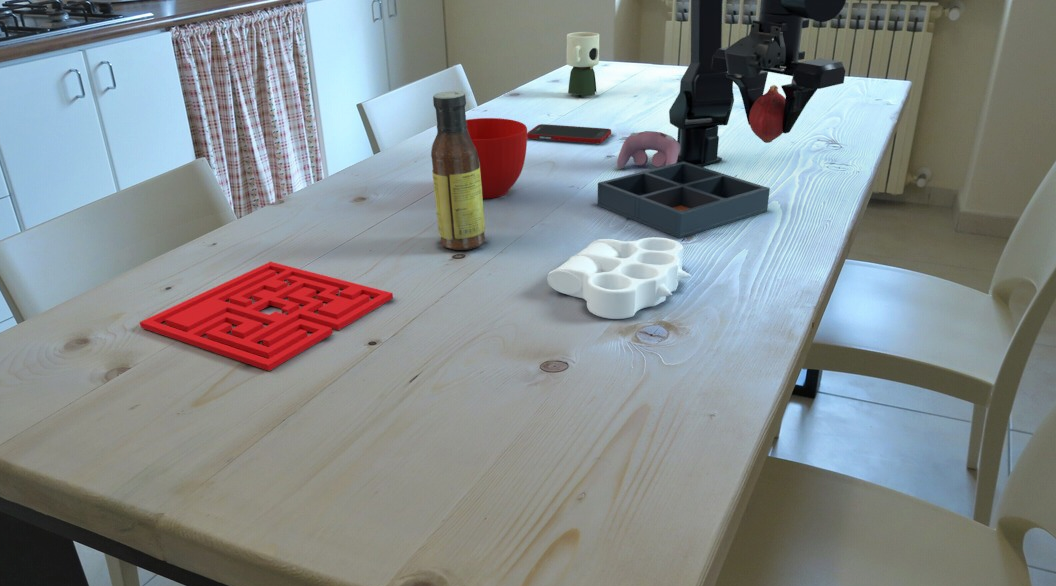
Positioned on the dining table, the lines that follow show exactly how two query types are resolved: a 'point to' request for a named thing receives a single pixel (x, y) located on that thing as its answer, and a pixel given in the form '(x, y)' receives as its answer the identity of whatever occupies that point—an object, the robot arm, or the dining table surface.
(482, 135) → the ceramic cup
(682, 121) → the robot arm
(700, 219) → the grid
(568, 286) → the white brass knuckles
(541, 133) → the cell phone
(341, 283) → the maze puzzle
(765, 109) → the onion
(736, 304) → the dining table surface
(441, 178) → the sauce bottle
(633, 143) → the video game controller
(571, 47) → the character mug
